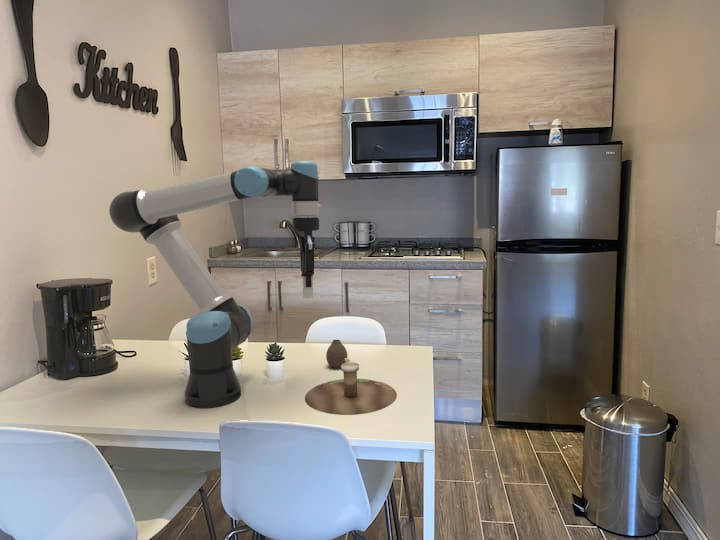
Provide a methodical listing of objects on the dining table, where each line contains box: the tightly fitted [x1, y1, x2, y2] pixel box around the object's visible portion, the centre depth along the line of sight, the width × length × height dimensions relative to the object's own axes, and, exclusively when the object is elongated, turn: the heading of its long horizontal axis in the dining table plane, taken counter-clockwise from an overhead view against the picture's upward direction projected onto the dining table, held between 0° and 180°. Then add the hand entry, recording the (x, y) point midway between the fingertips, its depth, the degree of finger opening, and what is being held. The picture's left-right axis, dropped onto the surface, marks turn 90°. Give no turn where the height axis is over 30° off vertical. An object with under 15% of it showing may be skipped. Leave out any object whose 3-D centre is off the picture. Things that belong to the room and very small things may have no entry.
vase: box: [326, 339, 348, 369], centre depth 164 cm, size 7×7×9 cm
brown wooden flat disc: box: [304, 378, 398, 416], centre depth 137 cm, size 25×25×1 cm
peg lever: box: [340, 357, 360, 397], centre depth 141 cm, size 15×5×8 cm, turn 6°
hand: (308, 297), depth 147 cm, fingers closed
